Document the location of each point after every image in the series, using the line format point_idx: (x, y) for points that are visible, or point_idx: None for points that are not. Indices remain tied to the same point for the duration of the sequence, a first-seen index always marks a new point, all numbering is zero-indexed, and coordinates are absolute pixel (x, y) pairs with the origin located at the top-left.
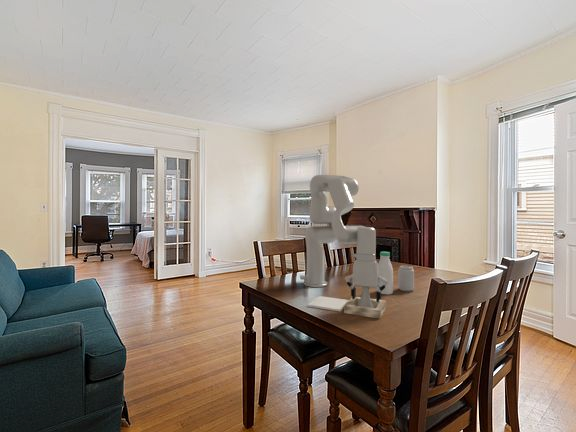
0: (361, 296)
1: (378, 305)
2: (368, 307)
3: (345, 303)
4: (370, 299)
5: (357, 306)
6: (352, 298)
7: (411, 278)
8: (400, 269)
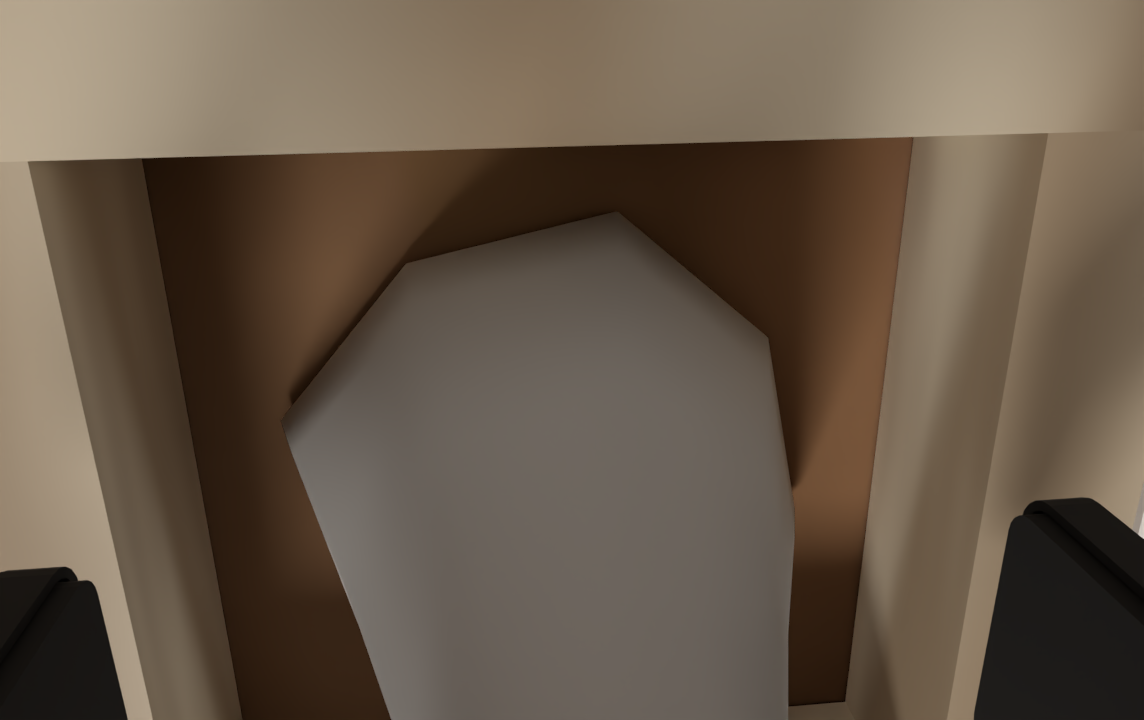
0: (765, 658)
1: (84, 537)
2: (334, 139)
3: None
4: (372, 657)
5: (761, 47)
6: (1079, 500)
7: None
8: None
